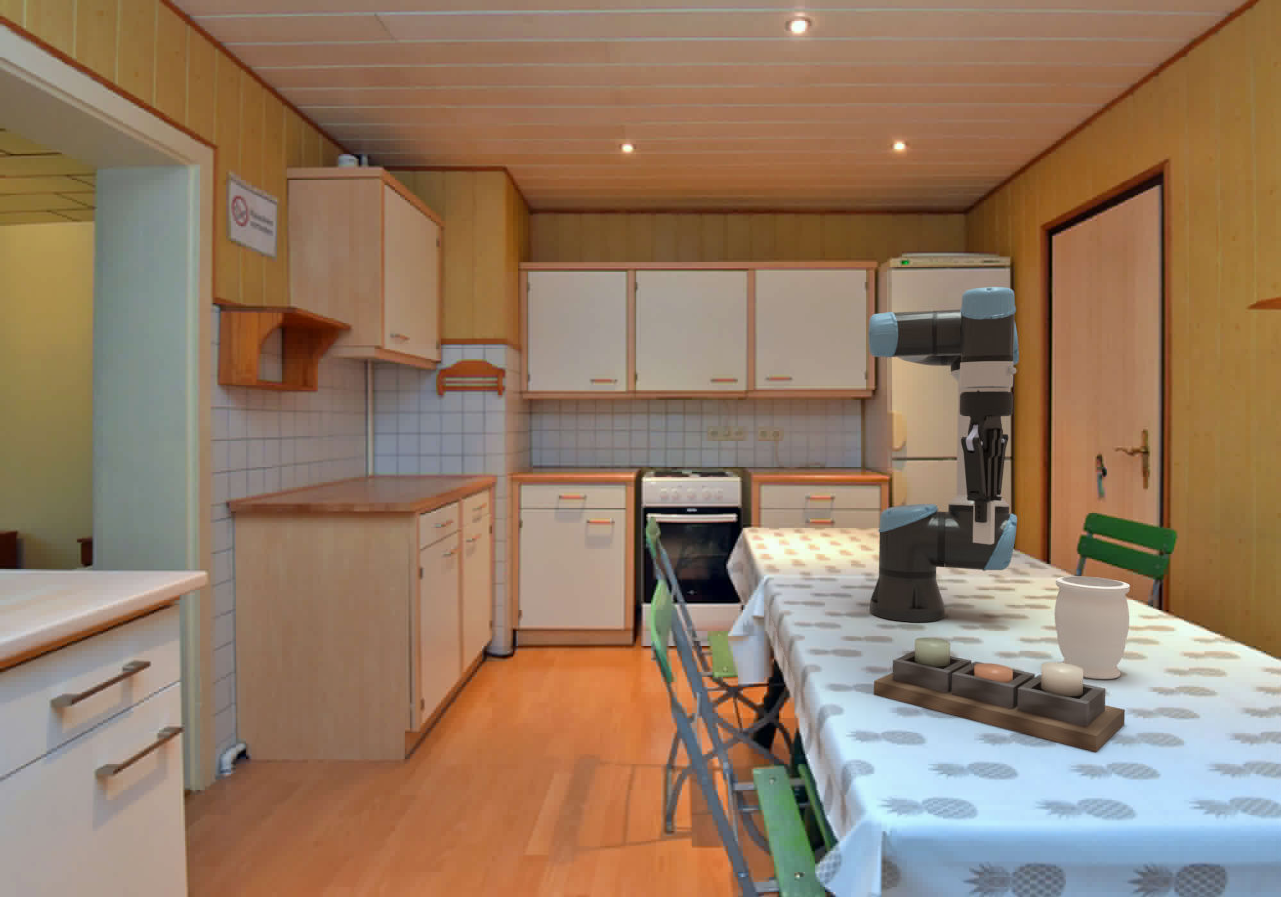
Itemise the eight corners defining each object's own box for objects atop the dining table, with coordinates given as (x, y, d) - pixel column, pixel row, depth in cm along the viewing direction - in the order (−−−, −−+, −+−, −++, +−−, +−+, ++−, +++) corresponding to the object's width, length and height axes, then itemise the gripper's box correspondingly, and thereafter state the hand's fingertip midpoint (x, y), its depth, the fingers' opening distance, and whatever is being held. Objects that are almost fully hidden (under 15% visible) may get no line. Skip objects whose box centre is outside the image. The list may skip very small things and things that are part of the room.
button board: (873, 694, 120) (874, 661, 120) (913, 674, 130) (913, 644, 129) (1096, 752, 99) (1097, 712, 99) (1124, 724, 109) (1125, 687, 108)
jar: (1119, 666, 134) (1121, 577, 134) (1135, 685, 125) (1137, 589, 124) (1049, 660, 138) (1050, 573, 137) (1059, 678, 128) (1061, 585, 128)
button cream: (1035, 690, 108) (1035, 667, 108) (1048, 681, 112) (1048, 660, 111) (1076, 699, 104) (1076, 676, 104) (1087, 690, 108) (1088, 667, 108)
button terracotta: (968, 689, 114) (968, 668, 114) (982, 681, 118) (982, 661, 118) (1004, 697, 111) (1005, 676, 111) (1017, 689, 114) (1018, 668, 114)
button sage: (908, 661, 121) (909, 642, 120) (923, 655, 124) (923, 635, 124) (941, 669, 117) (941, 648, 117) (955, 661, 121) (955, 642, 121)
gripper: (995, 390, 116) (992, 552, 117) (1026, 390, 125) (1023, 540, 126) (944, 390, 121) (941, 545, 122) (978, 390, 130) (975, 534, 132)
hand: (983, 542), depth 124 cm, fingers closed
